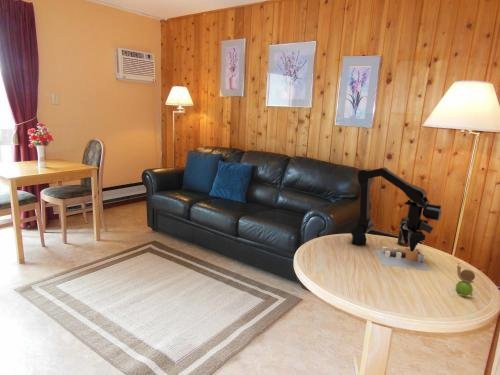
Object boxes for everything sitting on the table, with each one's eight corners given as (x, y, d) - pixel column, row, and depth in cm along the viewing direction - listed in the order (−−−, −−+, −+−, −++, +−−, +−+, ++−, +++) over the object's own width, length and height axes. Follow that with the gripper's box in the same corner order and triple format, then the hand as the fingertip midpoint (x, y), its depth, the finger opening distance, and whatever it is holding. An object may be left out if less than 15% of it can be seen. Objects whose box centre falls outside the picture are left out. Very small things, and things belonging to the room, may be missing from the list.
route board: (382, 267, 150) (382, 265, 149) (373, 251, 167) (374, 249, 167) (429, 273, 147) (430, 270, 147) (416, 256, 164) (417, 254, 164)
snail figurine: (453, 288, 135) (459, 260, 132) (472, 294, 131) (478, 265, 128) (450, 293, 130) (456, 264, 128) (470, 299, 126) (476, 270, 124)
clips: (384, 257, 157) (385, 251, 157) (381, 252, 164) (382, 246, 163) (400, 259, 156) (401, 253, 156) (397, 254, 163) (397, 248, 162)
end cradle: (417, 262, 155) (418, 255, 154) (411, 255, 162) (412, 248, 162) (422, 262, 154) (424, 255, 154) (417, 255, 162) (418, 248, 161)
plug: (385, 256, 158) (387, 248, 158) (384, 253, 162) (385, 245, 161) (417, 260, 157) (418, 252, 156) (414, 257, 160) (415, 249, 160)
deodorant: (397, 247, 174) (402, 219, 171) (396, 243, 180) (400, 216, 177) (410, 249, 173) (415, 221, 169) (408, 245, 178) (413, 218, 175)
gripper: (441, 223, 144) (434, 257, 148) (425, 211, 162) (420, 242, 166) (413, 220, 146) (407, 254, 149) (401, 209, 164) (396, 239, 167)
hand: (408, 247), depth 158 cm, fingers open, 9 cm apart
